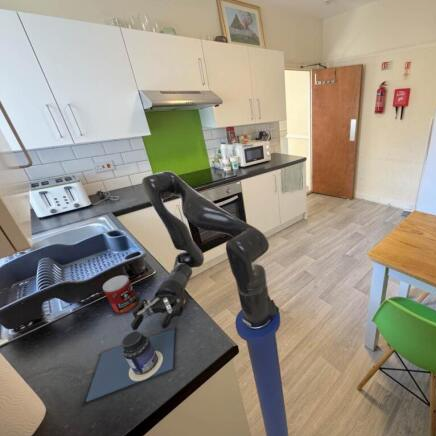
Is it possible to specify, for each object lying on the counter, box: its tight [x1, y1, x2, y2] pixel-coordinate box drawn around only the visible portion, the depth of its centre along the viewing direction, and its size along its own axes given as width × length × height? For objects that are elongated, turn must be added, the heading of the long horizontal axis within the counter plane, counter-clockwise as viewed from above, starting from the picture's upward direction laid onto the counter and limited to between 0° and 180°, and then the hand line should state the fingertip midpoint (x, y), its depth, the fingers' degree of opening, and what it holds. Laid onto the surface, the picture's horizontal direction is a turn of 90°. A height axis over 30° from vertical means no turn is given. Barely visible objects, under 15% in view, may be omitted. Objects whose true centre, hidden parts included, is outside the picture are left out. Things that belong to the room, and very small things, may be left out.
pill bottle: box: [121, 330, 158, 375], centre depth 64 cm, size 6×6×11 cm
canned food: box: [102, 274, 139, 314], centre depth 85 cm, size 8×8×11 cm
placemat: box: [85, 328, 176, 403], centre depth 68 cm, size 20×14×1 cm
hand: (148, 327), depth 68 cm, fingers open, 8 cm apart
